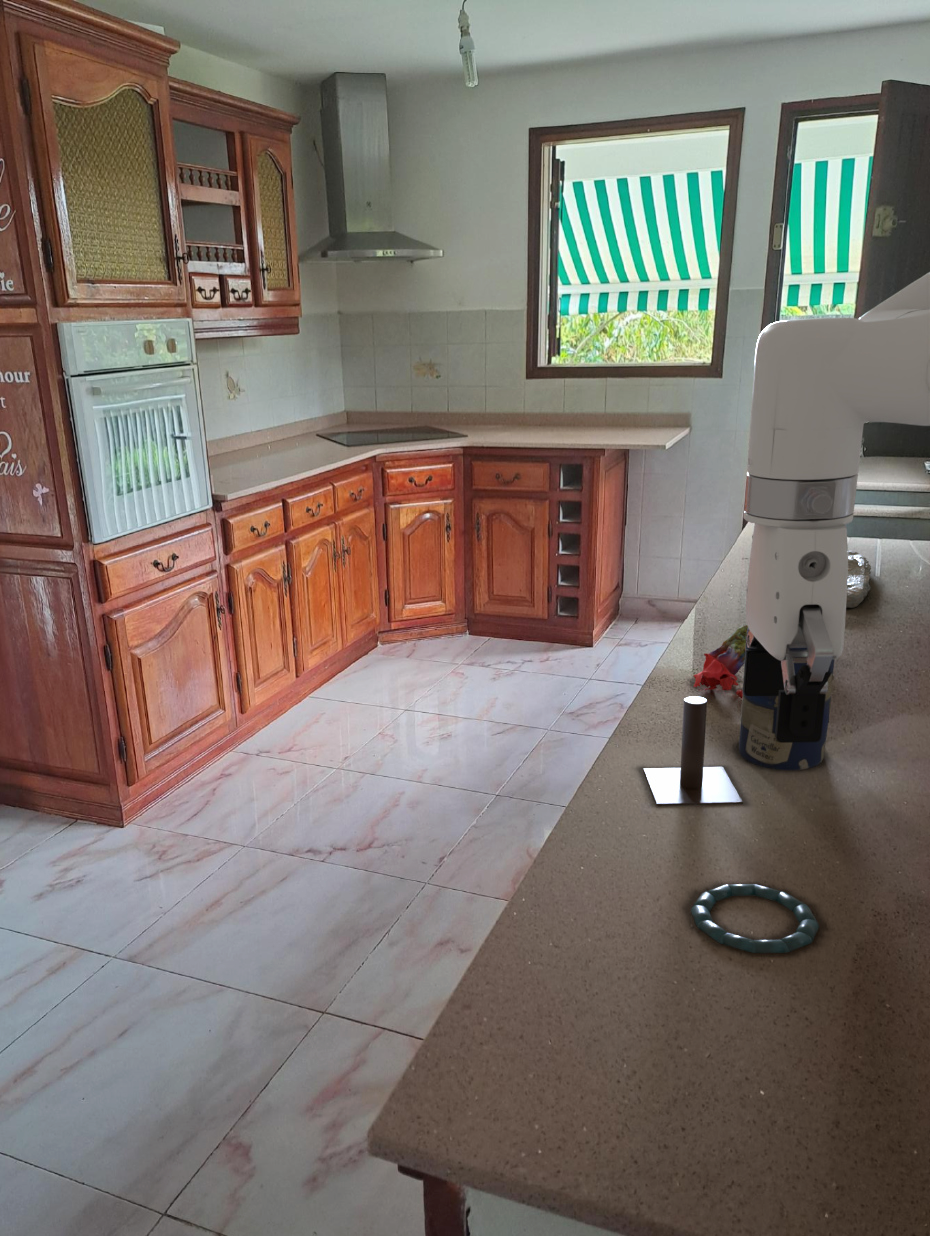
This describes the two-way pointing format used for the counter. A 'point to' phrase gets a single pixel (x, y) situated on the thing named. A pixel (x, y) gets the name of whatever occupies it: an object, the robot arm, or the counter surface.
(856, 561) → the foil wrapped parcel
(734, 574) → the counter surface
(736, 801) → the post stand
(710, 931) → the ring
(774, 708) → the canister
